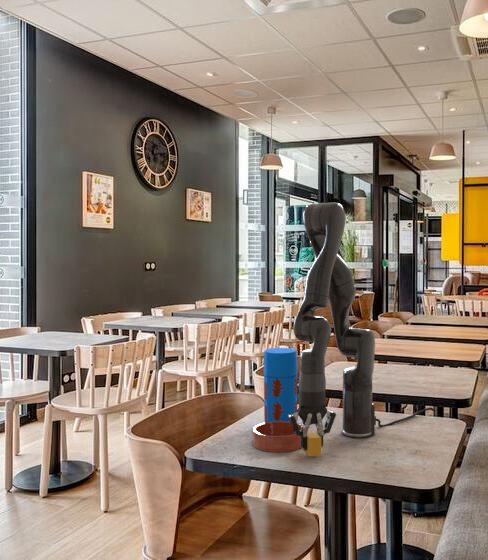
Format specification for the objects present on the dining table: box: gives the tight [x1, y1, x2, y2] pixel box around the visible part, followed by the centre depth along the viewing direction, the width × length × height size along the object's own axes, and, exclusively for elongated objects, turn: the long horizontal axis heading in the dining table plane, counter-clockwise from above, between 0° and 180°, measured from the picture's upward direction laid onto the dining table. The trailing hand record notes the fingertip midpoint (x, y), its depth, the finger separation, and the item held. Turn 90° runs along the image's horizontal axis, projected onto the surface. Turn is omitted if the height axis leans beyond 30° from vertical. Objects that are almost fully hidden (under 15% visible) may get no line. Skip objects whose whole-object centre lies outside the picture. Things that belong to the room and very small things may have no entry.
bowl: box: [252, 421, 302, 453], centre depth 180 cm, size 15×15×4 cm
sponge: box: [302, 430, 322, 457], centre depth 168 cm, size 4×6×5 cm, turn 16°
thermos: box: [263, 347, 298, 423], centre depth 197 cm, size 11×11×25 cm
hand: (312, 448), depth 168 cm, fingers closed on sponge, 3 cm apart
